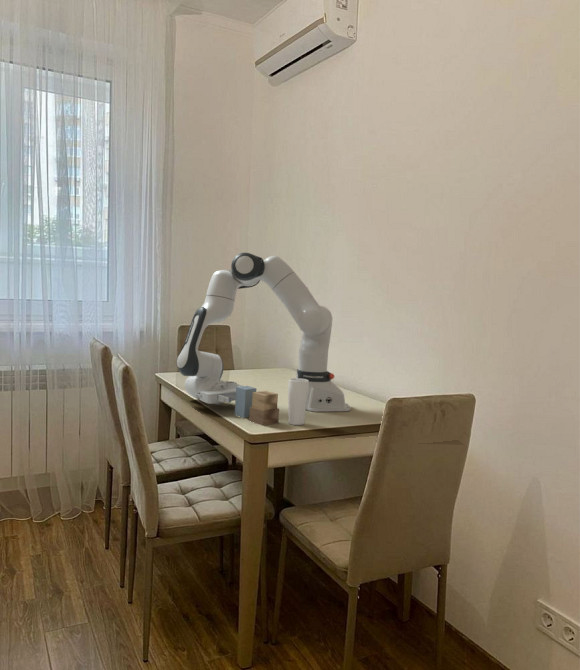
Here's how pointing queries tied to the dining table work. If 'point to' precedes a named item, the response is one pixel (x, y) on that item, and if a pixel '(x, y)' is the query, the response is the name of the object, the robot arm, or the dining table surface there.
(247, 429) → the dining table surface
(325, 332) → the robot arm
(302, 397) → the drinking glass
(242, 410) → the pillar
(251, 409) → the tower base
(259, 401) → the tower top
